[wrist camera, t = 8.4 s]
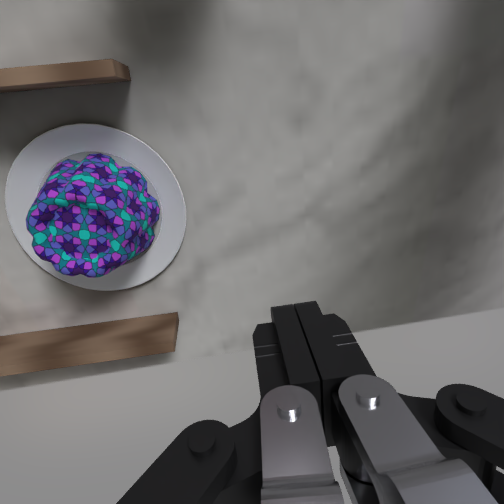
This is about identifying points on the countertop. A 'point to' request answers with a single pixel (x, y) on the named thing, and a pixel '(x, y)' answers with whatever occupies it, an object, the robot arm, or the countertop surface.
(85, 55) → the countertop surface
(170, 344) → the box
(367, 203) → the countertop surface
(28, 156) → the pudding
